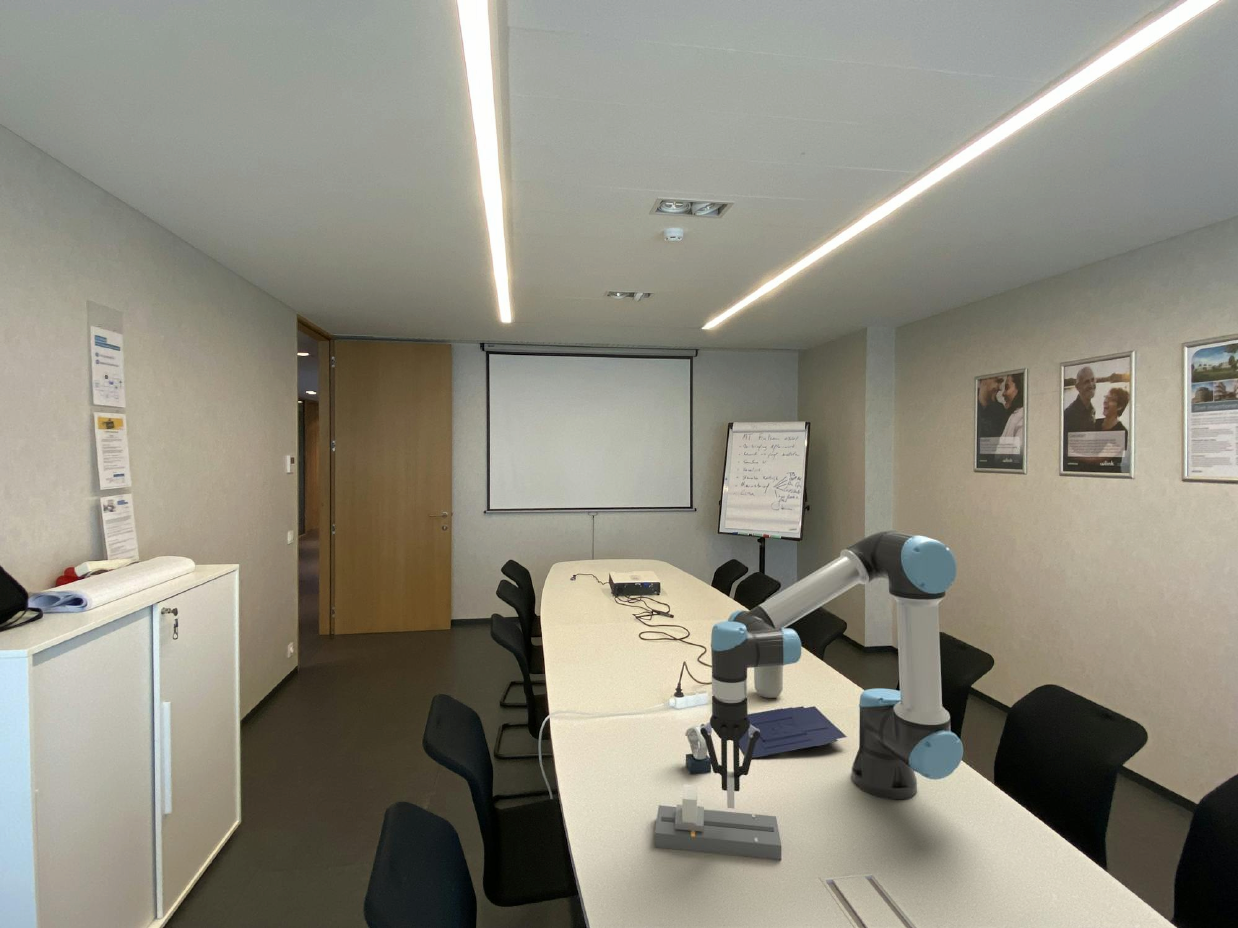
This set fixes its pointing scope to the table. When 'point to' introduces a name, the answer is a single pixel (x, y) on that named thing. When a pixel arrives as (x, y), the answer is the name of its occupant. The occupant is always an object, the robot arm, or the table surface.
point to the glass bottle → (768, 680)
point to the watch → (697, 752)
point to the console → (722, 834)
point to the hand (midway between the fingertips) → (730, 804)
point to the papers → (790, 730)
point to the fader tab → (689, 811)
